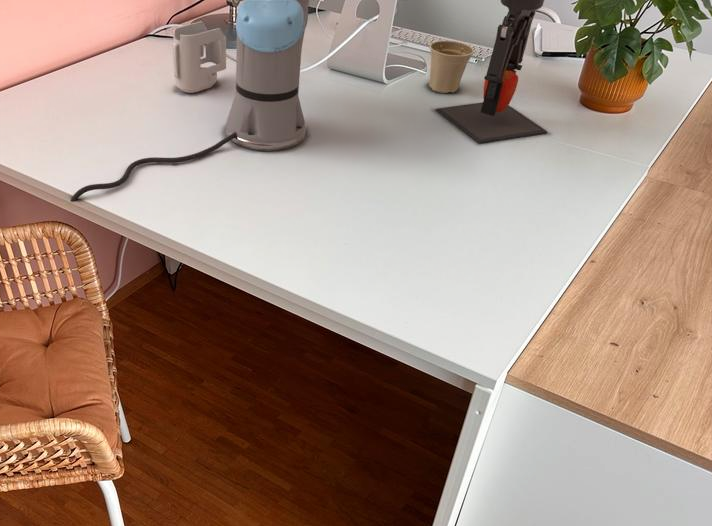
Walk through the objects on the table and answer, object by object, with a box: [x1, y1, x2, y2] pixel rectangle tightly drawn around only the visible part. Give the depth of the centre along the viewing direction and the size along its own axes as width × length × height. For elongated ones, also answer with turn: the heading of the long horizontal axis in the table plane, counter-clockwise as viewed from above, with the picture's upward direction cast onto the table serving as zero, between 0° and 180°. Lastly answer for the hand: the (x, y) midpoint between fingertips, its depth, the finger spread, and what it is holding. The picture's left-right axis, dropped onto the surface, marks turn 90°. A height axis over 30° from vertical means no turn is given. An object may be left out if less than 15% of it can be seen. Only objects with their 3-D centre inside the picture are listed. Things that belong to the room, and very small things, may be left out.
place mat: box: [435, 102, 548, 145], centre depth 144 cm, size 16×16×1 cm
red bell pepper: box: [482, 70, 519, 112], centre depth 139 cm, size 6×6×8 cm
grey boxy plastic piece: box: [172, 20, 227, 94], centre depth 149 cm, size 7×12×12 cm, turn 135°
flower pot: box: [428, 40, 475, 94], centre depth 153 cm, size 9×9×9 cm
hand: (494, 107), depth 142 cm, fingers closed on red bell pepper, 6 cm apart
